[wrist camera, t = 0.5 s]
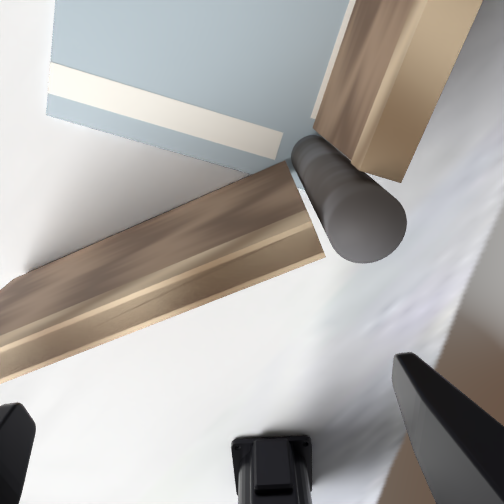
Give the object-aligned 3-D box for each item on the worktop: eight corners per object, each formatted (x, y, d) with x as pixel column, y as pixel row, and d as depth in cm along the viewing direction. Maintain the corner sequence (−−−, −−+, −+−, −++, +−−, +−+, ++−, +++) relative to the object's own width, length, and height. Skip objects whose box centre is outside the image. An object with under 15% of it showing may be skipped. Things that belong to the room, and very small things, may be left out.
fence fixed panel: (323, 181, 24) (387, 271, 13) (285, 170, 24) (317, 252, 13) (457, -180, 18) (806, -608, 7) (407, -202, 17) (685, -688, 6)
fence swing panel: (283, 156, 23) (311, 220, 13) (292, 179, 23) (325, 256, 13) (11, 276, 26) (-140, 404, 16) (24, 293, 26) (-113, 427, 16)
